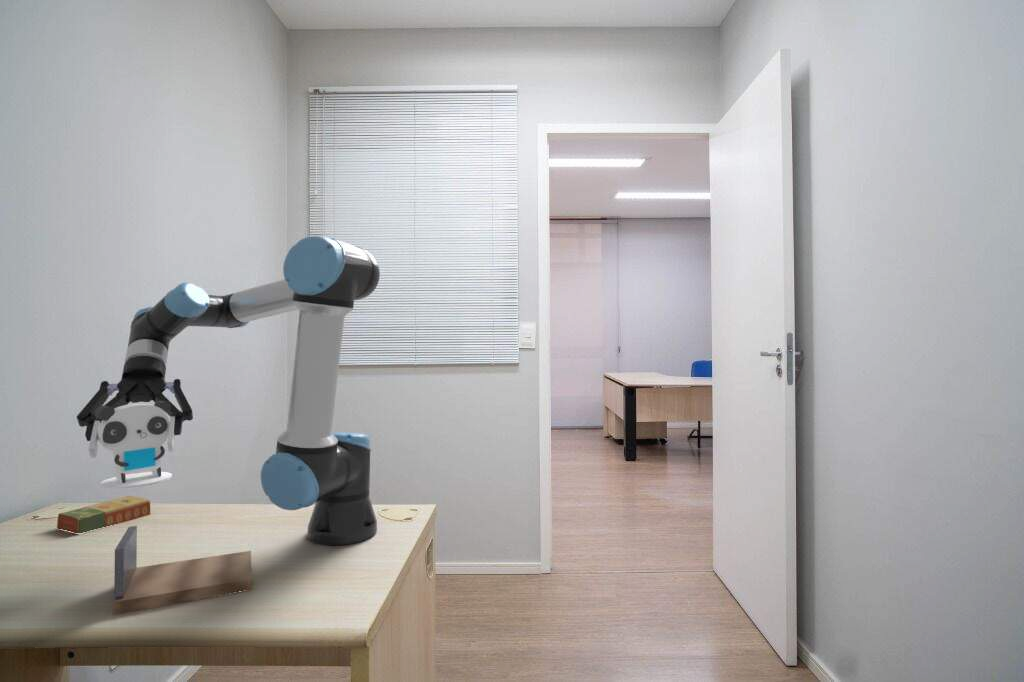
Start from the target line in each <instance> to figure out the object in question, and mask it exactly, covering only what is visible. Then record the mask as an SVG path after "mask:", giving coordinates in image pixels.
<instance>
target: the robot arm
mask: <svg viewBox="0 0 1024 682" xmlns="http://www.w3.org/2000/svg"><path fill="white" fill-rule="evenodd" d="M284 258H285V259H284V262H283V266H282V267H283V268H282V269H283V271H282V272H283V277H284V279H281V280H280V279H279V280H277V281H273V282H270V283H265V284H262V285H258V286H254V287H250V288H248V289H243V290H240V291H236V292H234V293H229V294H226V295H225V294H224V295H211V294H208V293H207V292H206V291H205V290H204V289H203V288H202V287H200V286H199V285H197V286H196V285H195V284H194V283H191V282H182V283H179V284H178V285H177V286H176V287H175V288H173V289H171V290H170V291H168V292H167V293H166V294H165V296H163V297H162V299H161V300H159V301H158V302H157V303H156V304H155V305H154V306H148V307H144V308H141V309H139V310H137V312H135V314H134V316H133V319H132V321H131V325H130V331H129V332H130V333H129V337H128V343H127V344H128V345H127V348H126V349H127V350H126V353H125V359H124V364H123V369H122V375H121V378H120V381H119V382H118V383H109V381H107V380H103V381H101V382H100V386H99V390H98V391H97V392H96V393H95V394H94V395H93V396H92V398H91V399H90V400H89V401H88V402H87V404H86V405H85V406H84V407H83V408H82V409H81V411H80V412H79V413H78V414H77V416H76V420H77V422H78V426H79V427H81V428H82V427H86V430H85V434H84V435H85V439H86V441H87V442H89V445H88V452H89V456H90V458H91V459H92V458H97V455H98V450H99V445H100V442H99V440H98V437H97V432H98V427H99V425H100V423H101V421H102V420H100V419H98V418H96V417H95V411H96V409H97V408H98V407H100V406H102V405H105V406H109V407H112V408H113V409H115V408H117V407H120V406H123V405H128V404H138V403H150V402H154V403H155V402H156V401H165V402H169V403H170V405H171V409H170V410H169V411H165V413H166V414H167V416H169V422H170V425H169V434H168V438H167V450H168V452H174V450H175V449H174V448H175V436H180V435H181V434H182V429H183V423H184V422H185V421H192V420H193V419H194V417H193V409H192V407H191V405H190V403H189V401H188V400H187V397H186V395H185V393H184V392H183V390H182V383H181V380H180V379H179V378H175V379H174V380H173V381H169V382H168V381H166V379H165V378H166V372H167V363H168V354H169V348H170V343H171V341H172V340H173V339H174V338H175V337H176V336H178V335H179V334H180V333H181V332H183V331H184V330H185V329H186V328H187V327H202V328H203V327H204V328H205V327H206V328H207V327H210V328H211V327H212V328H227V329H234V328H235V329H236V328H243V327H245V326H247V324H249V323H250V322H252V321H257V320H261V319H265V318H268V317H273V316H277V315H281V314H285V313H289V312H292V311H298V312H299V316H298V317H299V318H298V325H297V334H296V343H295V351H294V352H295V354H294V360H293V361H294V362H293V367H292V369H293V370H292V379H291V386H290V387H291V388H290V397H289V407H288V414H287V424H286V429H285V431H283V432H282V433H281V434H279V435H278V436H277V440H276V446H275V447H276V449H275V453H273V454H272V455H270V456H269V457H268V459H267V460H264V463H263V465H262V467H261V470H260V484H261V487H262V490H263V492H264V494H265V496H268V499H269V501H270V502H271V503H272V504H273V505H275V506H276V507H278V508H280V509H281V510H286V511H298V510H300V509H303V508H309V507H311V506H313V505H314V507H313V510H312V513H311V516H310V518H309V522H308V525H307V539H308V540H309V541H310V542H311V543H315V544H318V545H325V546H341V545H350V544H355V543H360V542H363V541H365V540H367V539H370V538H372V537H373V536H374V535H376V533H377V532H378V520H377V516H376V514H375V510H374V507H373V505H372V501H371V498H370V481H371V480H370V478H371V476H370V475H371V451H372V449H371V446H370V445H371V443H370V441H371V440H370V437H369V435H367V434H366V433H362V432H352V431H351V432H350V431H332V429H333V420H334V410H335V401H336V394H337V387H338V386H337V385H338V375H339V369H340V360H341V353H342V352H341V350H342V342H343V333H344V325H345V323H344V322H345V318H346V316H347V315H348V314H350V313H351V312H352V311H354V305H355V301H360V300H363V299H365V298H368V297H369V296H370V295H371V294H373V292H374V291H375V290H376V289H377V286H378V285H379V282H380V274H381V272H380V267H379V263H378V262H377V259H376V258H375V257H374V256H373V254H371V252H369V251H368V250H366V249H365V248H363V247H359V246H357V245H353V244H350V243H346V242H344V241H340V240H339V239H338V240H337V239H335V238H332V237H326V236H319V235H312V236H311V235H310V236H306V237H304V238H301V239H300V240H298V242H296V243H295V244H294V245H292V246H291V247H290V249H289V250H288V252H287V254H286V256H285V257H284ZM166 390H169V392H171V393H172V394H174V399H176V402H177V404H178V406H179V408H180V409H181V410H179V408H177V406H175V404H173V403H172V402H171V401H170V399H168V398H167V396H165V395H164V394H163V393H164V392H165V391H166ZM116 391H118V392H117V393H116V394H115V396H114V397H113V398H112V399H110V400H109V401H108V399H109V397H110V396H113V393H115V392H116ZM106 402H107V403H106ZM105 403H106V404H105Z"/></svg>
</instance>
